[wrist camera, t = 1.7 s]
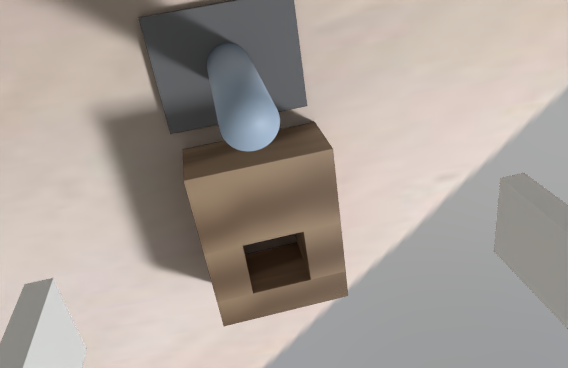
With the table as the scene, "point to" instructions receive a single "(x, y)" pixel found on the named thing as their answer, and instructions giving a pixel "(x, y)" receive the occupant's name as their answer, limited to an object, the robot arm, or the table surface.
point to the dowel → (241, 99)
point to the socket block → (268, 222)
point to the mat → (211, 33)
